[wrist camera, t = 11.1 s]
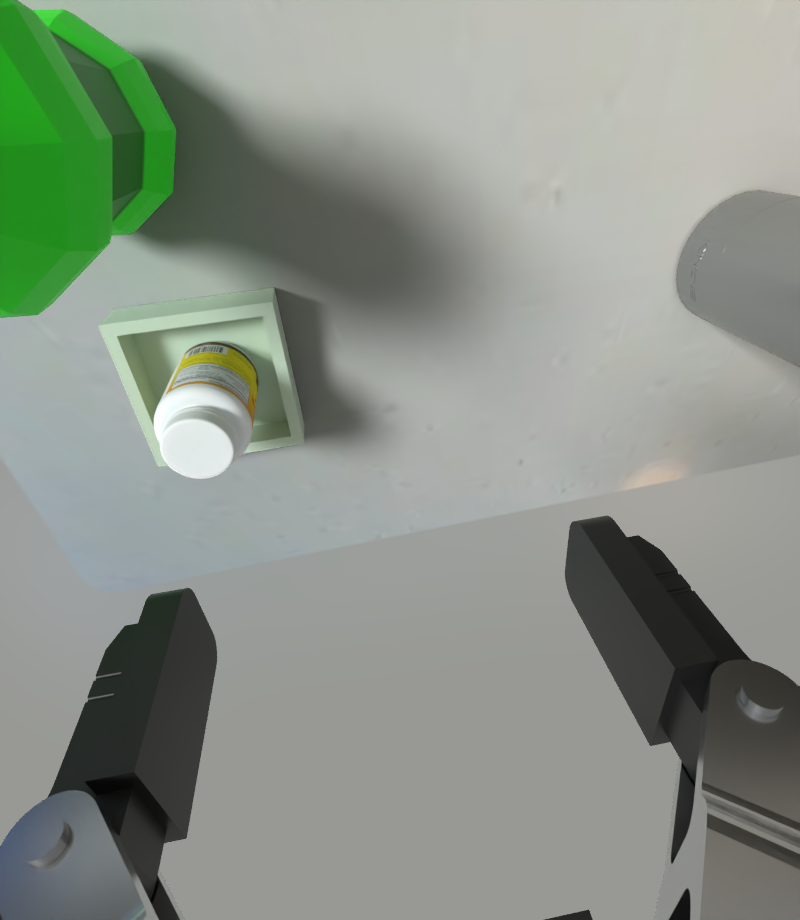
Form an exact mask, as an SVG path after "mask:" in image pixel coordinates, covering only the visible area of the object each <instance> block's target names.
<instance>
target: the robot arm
mask: <svg viewBox="0 0 800 920" xmlns="http://www.w3.org/2000/svg"><path fill="white" fill-rule="evenodd" d="M676 280H677V290H678V293H679V296H680V299H681V301H682V303H683V304H684V305H685V307H686V308H687V309H688V310H689V311H691V312H692V313H694V314H695V315H697V316H699V317H701V318H703V319H705V320H707V321H709V322H711V323H713V324H715V325H717V326H719V327H721V328H723V329H725V330H726V331H728V332H730V333H732V334H734V335H736V336H738V337H740V338H742V339H744V340H746V341H748V342H750V343H752V344H754V345H756V346H758V347H760V348H762V349H764V350H766V351H768V352H770V353H772V354H774V355H776V356H778V357H780V358H782V359H784V360H786V361H788V362H790V363H792V364H794V365H796V366H798V367H800V196H794V195H787V194H781V193H774V192H768V191H761V190H758V191H749V192H745V193H742V194H739V195H736V196H733V197H732V198H730V199H728V200H726V201H725V202H723V203H721V204H720V205H718V206H717V207H716V208H715V209H714V210H712V211H711V212H710V213H709V214H708V215H707V216H706V217H705V218H704V219H703V220H702V221H701V222H700V223H699V225H698V226H697V227H696V228H695V230H694V231H693V233H692V234H691V236H690V237H689V239H688V241H687V243H686V245H685V247H684V249H683V251H682V254H681V257H680V261H679V264H678V269H677V278H676ZM565 579H566V585H567V589H568V592H569V595H570V597H571V600H572V602H573V604H574V605H575V607H576V609H577V611H578V613H579V615H580V617H581V618H582V620H583V622H584V624H585V626H586V628H587V630H588V631H589V633H590V635H591V637H592V639H593V640H594V643H595V644H596V646H597V648H598V650H599V652H600V654H601V656H602V657H603V659H604V661H605V663H606V665H607V667H608V669H609V670H610V672H611V674H612V676H613V678H614V680H615V681H616V683H617V685H618V687H619V689H620V691H621V693H622V694H623V696H624V698H625V700H626V702H627V704H628V705H629V707H630V709H631V711H632V713H633V715H634V716H635V718H636V720H637V722H638V724H639V726H640V728H641V730H642V732H643V733H644V735H645V737H646V739H647V741H648V743H649V745H650V746H652V745H657V744H662V743H667V742H671V743H672V745H673V747H674V749H675V750H676V752H677V753H678V756H679V757H680V758H679V761H678V766H677V774H676V782H675V790H674V798H673V806H672V814H671V822H670V831H669V839H668V848H667V855H666V863H665V870H664V875H663V880H662V884H661V888H660V892H659V896H658V901H657V906H656V911H655V917H654V920H800V686H798V685H797V684H796V683H795V682H794V681H792V680H791V679H790V678H789V677H787V676H786V675H784V674H783V673H781V672H780V671H778V670H776V669H774V668H772V667H770V666H768V665H765V664H762V663H759V662H755V661H752V660H751V659H749V658H748V656H747V655H746V654H745V653H744V652H743V651H742V650H741V648H740V647H739V646H738V645H737V643H736V642H735V641H734V640H733V638H732V637H731V636H730V635H729V633H728V632H727V631H726V630H725V629H724V627H723V626H722V625H721V624H720V623H719V621H718V620H717V619H716V617H715V616H714V615H713V614H712V612H711V611H710V610H709V609H708V608H707V606H706V605H705V604H704V603H703V602H702V600H701V599H700V598H699V596H698V595H697V594H696V593H695V591H692V590H691V587H690V585H689V584H688V583H687V582H686V580H685V579H684V578H683V577H682V576H681V575H679V574H678V572H677V569H676V568H675V567H674V565H673V564H672V563H671V562H670V561H669V559H668V558H667V557H666V556H665V554H664V553H663V552H662V551H661V550H660V549H658V548H657V547H655V546H654V545H652V544H651V543H649V542H647V541H646V540H645V539H643V538H642V537H640V536H632V537H626V536H625V534H624V533H623V532H622V530H621V529H620V528H619V526H618V525H617V524H616V522H615V521H614V520H613V519H612V518H611V517H609V516H603V517H597V518H591V519H585V520H579V521H574V522H572V523H571V525H570V530H569V540H568V548H567V558H566V567H565ZM216 664H217V649H216V641H215V637H214V635H213V632H212V630H211V628H210V626H209V623H208V622H207V619H206V617H205V615H204V613H203V611H202V609H201V607H200V605H199V602H198V600H197V598H196V596H195V594H194V592H193V591H192V590H191V589H190V588H185V589H179V590H174V591H168V592H162V593H157V594H151V595H150V596H149V597H148V598H147V600H146V602H145V605H144V608H143V611H142V614H141V616H140V619H139V622H138V624H133V625H127V626H124V628H123V629H122V630H121V631H120V633H119V634H118V635H117V636H116V638H115V639H114V640H113V641H112V643H111V644H110V645H109V647H108V648H107V649H106V651H105V653H104V656H103V658H102V661H101V663H100V666H99V669H98V671H97V674H96V681H94V682H93V684H92V687H91V690H90V692H89V695H88V702H87V703H85V705H84V708H83V710H82V713H81V715H80V718H79V721H78V723H77V726H76V728H75V731H74V734H73V736H72V739H71V741H70V744H69V746H68V749H67V752H66V754H65V757H64V759H63V762H62V765H61V768H60V770H59V772H58V775H57V778H56V780H55V783H54V786H53V787H52V790H51V792H50V794H49V796H48V797H47V798H46V799H45V800H43V801H41V802H40V803H38V804H37V805H36V806H34V807H33V808H32V809H30V810H29V811H28V812H27V813H26V814H25V815H24V816H23V817H22V818H21V819H20V820H19V821H18V822H17V823H16V824H15V825H14V827H13V828H12V829H11V830H10V832H9V833H8V835H7V836H6V838H5V839H4V841H3V843H2V845H1V846H0V920H185V918H184V916H183V914H182V913H181V910H180V908H179V906H178V905H177V903H176V901H175V899H174V897H173V895H172V893H171V891H170V889H169V887H168V885H167V883H166V881H165V879H164V877H163V875H162V874H161V872H160V870H159V865H160V860H161V855H162V850H163V844H164V843H167V842H172V841H176V840H181V839H186V838H187V832H188V826H189V821H190V815H191V809H192V803H193V797H194V792H195V786H196V779H197V774H198V768H199V762H200V757H201V751H202V745H203V739H204V734H205V727H206V722H207V717H208V711H209V705H210V699H211V693H212V687H213V682H214V676H215V670H216ZM545 920H592V917H591V914H590V911H589V910H586V911H581V912H577V913H572V914H568V915H563V916H559V917H554V918H550V919H545Z"/></svg>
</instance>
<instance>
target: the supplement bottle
mask: <svg viewBox="0 0 800 920" xmlns="http://www.w3.org/2000/svg"><path fill="white" fill-rule="evenodd" d="M257 392H258V374H257V370H256V368H255V366H254V364H253V362H252V361H251V359H250V358H249V357H248V356H247V355H246V354H245V353H244V352H243V351H242V350H240V349H239V348H237V347H235V346H233V345H231V344H228V343H225V342H220V341H207V342H202V343H199V344H197V345H195V346H193V347H191V348H190V349H188V350H187V351H186V352H185V353H184V354H183V356H182V357H181V359H180V360H179V362H178V364H177V366H176V368H175V371H174V373H173V375H172V377H171V379H170V381H169V383H168V385H167V388H166V390H165V392H164V394H163V396H162V398H161V400H160V402H159V404H158V406H157V409H156V411H155V415H154V431H155V435H156V437H157V439H158V441H159V443H160V451H161V455H162V457H163V459H164V461H165V462H166V463H167V465H168V466H169V467H170V468H172V469H173V470H174V471H176V472H177V473H179V474H181V475H184V476H186V477H190V478H196V479H206V478H211V477H215V476H217V475H219V474H221V473H223V472H224V471H225V470H226V469H227V468H228V467H229V466H230V465H231V463H232V462H233V461H235V460H236V459H237V458H239V457H240V456H241V455H242V454H243V453H244V452H245V450H246V449H247V447H248V445H249V443H250V440H251V436H252V430H253V422H254V414H255V407H256V399H257Z"/></svg>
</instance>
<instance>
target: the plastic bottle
mask: <svg viewBox="0 0 800 920" xmlns="http://www.w3.org/2000/svg"><path fill="white" fill-rule="evenodd" d="M175 146H176V128H175V126H174V124H173V122H172V120H171V118H170V116H169V114H168V112H167V111H166V109H165V107H164V105H163V103H162V101H161V99H160V97H159V95H158V93H157V91H156V89H155V88H154V86H153V84H152V82H151V80H150V78H149V76H148V74H147V72H146V70H145V68H144V66H143V65H142V63H141V61H140V60H139V59H138V58H136V57H135V56H133V55H132V54H130V53H129V52H127V51H126V50H125V49H123V48H122V47H120V46H119V45H117V44H116V43H114V42H113V41H112V40H110V39H109V38H107V37H106V36H104V35H103V34H102V33H100V32H99V31H97V30H96V29H94V28H93V27H91V26H90V25H89V24H87V23H86V22H84V21H83V20H81V19H80V18H78V17H77V16H76V15H74V14H72V13H70V12H68V11H66V10H31V9H29V8H28V7H26V6H25V5H23V4H22V3H21V2H19V1H18V0H0V318H4V317H17V316H29V315H38V314H39V313H41V312H42V311H43V310H44V309H46V308H47V307H48V306H50V305H51V304H52V303H53V302H54V301H55V300H56V299H57V298H58V297H59V296H60V295H61V294H62V293H63V292H64V291H65V290H66V289H67V287H68V286H69V285H70V284H71V283H72V282H73V281H74V280H75V279H76V278H77V277H78V276H79V275H80V274H81V273H82V272H83V271H84V270H85V269H86V267H87V266H88V265H89V264H90V263H91V262H92V261H93V260H94V259H95V258H96V257H97V256H98V255H99V254H100V253H101V252H102V251H103V250H104V249H105V247H106V246H107V245H108V244H109V243H110V240H111V236H112V235H125V234H132V233H133V232H135V231H136V230H137V229H138V228H139V227H140V226H141V225H142V224H143V223H144V222H145V221H146V220H147V219H148V218H149V217H150V216H151V215H152V214H153V213H154V212H155V211H156V210H157V209H158V207H159V206H160V205H161V204H162V203H163V202H164V201H165V200H166V199H167V198H168V197H169V196H170V195H171V194H172V193H173V184H174V165H175Z"/></svg>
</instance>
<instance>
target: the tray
mask: <svg viewBox="0 0 800 920" xmlns="http://www.w3.org/2000/svg"><path fill="white" fill-rule="evenodd" d="M98 327H99V329H100V331H101V334H102V336H103V339H104V341H105V343H106V346H107V348H108V350H109V353H110V355H111V357H112V360H113V362H114V364H115V367H116V369H117V371H118V374H119V376H120V378H121V381H122V383H123V386H124V388H125V390H126V393H127V395H128V397H129V400H130V402H131V404H132V407H133V409H134V411H135V414H136V416H137V418H138V421H139V423H140V426H141V428H142V430H143V433H144V435H145V437H146V440H147V442H148V444H149V447H150V449H151V451H152V454H153V456H154V458H155V461H156V463H157V465H158V467H161V466H168V465H167V463H166V462H165V461H164V459H163V457H162V455H161V451H160V443H159V441H158V439H157V437H156V435H155V431H154V415H155V411H156V409H157V406H158V404H159V402H160V400H161V398H162V396H163V394H164V392H165V390H166V388H167V385H168V383H169V381H170V379H171V377H172V375H173V373H174V371H175V368H176V366H177V364H178V362H179V360H180V359H181V357H182V356H183V354H184V353H185V352H186V351H187V350H188V349H190V348H191V347H193V346H195V345H197V344H199V343H202V342H207V341H220V342H225V343H228V344H231V345H233V346H235V347H237V348H239V349H240V350H242V351H243V352H244V353H245V354H246V355H247V356H248V357H249V358H250V359H251V361H252V362H253V364H254V366H255V368H256V370H257V374H258V392H257V399H256V407H255V414H254V422H253V430H252V436H251V440H250V443H249V445H248V447H247V449H246V450H245V452H244V453H250V452H256V451H262V450H268V449H275V448H281V447H287V446H294V445H300V444H304V420H303V416H302V411H301V407H300V402H299V397H298V393H297V388H296V384H295V379H294V375H293V370H292V366H291V361H290V357H289V352H288V348H287V343H286V339H285V334H284V329H283V325H282V320H281V316H280V311H279V307H278V302H277V298H276V293H275V289H274V288H266V289H259V290H251V291H244V292H236V293H229V294H221V295H214V296H206V297H199V298H191V299H184V300H176V301H169V302H161V303H154V304H146V305H139V306H131V307H124V308H116V309H113V310H112V311H111V312H110V313H109V314H108V315H107V316H106V317H105V318H104V320H103V321H102V322H101V323H100V324H99V325H98Z"/></svg>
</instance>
